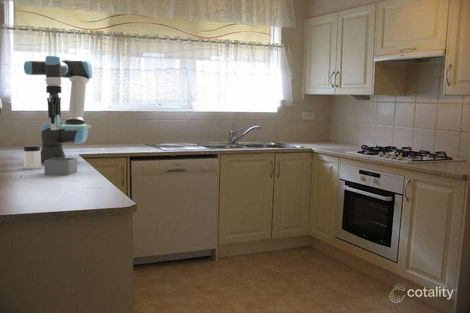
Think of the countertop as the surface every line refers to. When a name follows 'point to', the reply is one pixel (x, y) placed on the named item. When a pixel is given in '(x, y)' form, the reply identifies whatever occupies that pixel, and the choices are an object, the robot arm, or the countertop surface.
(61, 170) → the tub
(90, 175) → the countertop surface
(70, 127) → the teal t-shaped block
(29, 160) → the jar
